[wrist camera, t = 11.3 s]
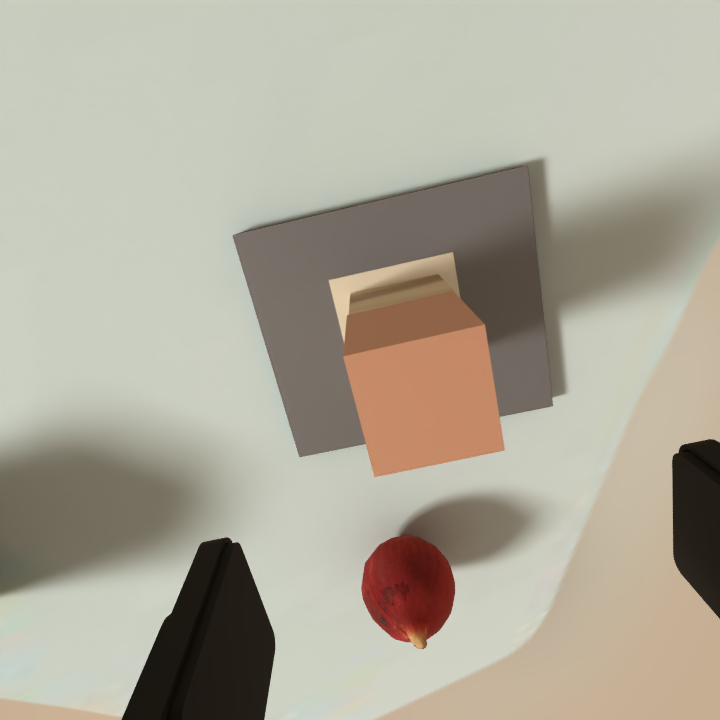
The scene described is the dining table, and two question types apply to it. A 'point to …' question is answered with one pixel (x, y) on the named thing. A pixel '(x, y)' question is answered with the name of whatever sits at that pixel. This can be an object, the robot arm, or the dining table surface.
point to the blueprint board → (390, 266)
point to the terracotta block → (422, 383)
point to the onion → (408, 589)
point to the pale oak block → (397, 293)
